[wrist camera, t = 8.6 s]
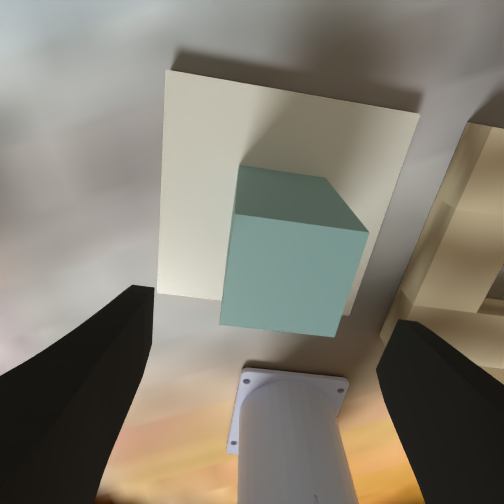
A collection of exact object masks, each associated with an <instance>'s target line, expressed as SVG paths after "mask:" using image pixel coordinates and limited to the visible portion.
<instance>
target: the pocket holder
mask: <svg viewBox="0 0 504 504" xmlns="http://www.w3.org/2000/svg"><path fill="white" fill-rule="evenodd" d="M503 264H504V128H498V127H493V126H487V125H481V124H476V123H470V122H467V124H466V126H465V129H464V131H463V134H462V136H461V139H460V141H459V143H458V146H457V148H456V151H455V153H454V155H453V158H452V160H451V163H450V165H449V168H448V170H447V172H446V175H445V177H444V180H443V182H442V184H441V187H440V189H439V192H438V194H437V196H436V199H435V201H434V204H433V206H432V209H431V211H430V213H429V216H428V218H427V221H426V223H425V225H424V228H423V230H422V233H421V235H420V238H419V240H418V242H417V245H416V247H415V250H414V252H413V254H412V257H411V259H410V262H409V264H408V267H407V269H406V271H405V274H404V276H403V279H402V281H401V283H400V286H399V288H398V291H397V293H396V296H395V298H394V300H393V303H392V305H391V308H390V310H389V312H388V315H387V317H386V320H385V322H384V325H383V327H382V329H381V332H380V334H379V336H380V338H381V340H382V342H383V344H384V345H385V347H386V346H387V343H388V341H389V339H390V337H391V334H392V332H393V330H394V328H395V325H396V323H397V321H398V319H402V320H410V321H417V322H419V323H421V324H422V325H424V326H425V327H427V328H428V329H430V330H431V331H433V332H434V333H435V334H437V335H438V336H440V337H441V338H442V339H444V340H445V341H446V342H448V343H449V344H450V345H452V346H453V347H454V348H455V349H457V350H458V351H459V352H461V353H462V354H463V355H465V356H466V357H467V358H469V359H470V360H471V361H472V362H474V363H475V364H476V365H478V366H484V367H493V368H502V369H504V300H499V299H491V298H485V297H486V295H487V293H488V291H489V290H490V288H491V286H492V284H493V282H494V281H495V279H496V277H497V275H498V273H499V272H500V270H501V268H502V266H503Z"/></svg>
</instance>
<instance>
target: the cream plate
mask: <svg viewBox="0 0 504 504" xmlns="http://www.w3.org/2000/svg"><path fill="white" fill-rule="evenodd" d="M419 117H420V114H418V113H413V112H407V111H401V110H396V109H390V108H384V107H378V106H373V105H367V104H361V103H356V102H350V101H344V100H338V99H333V98H327V97H321V96H316V95H310V94H304V93H298V92H293V91H287V90H281V89H276V88H270V87H264V86H258V85H253V84H247V83H241V82H235V81H230V80H224V79H218V78H213V77H207V76H201V75H195V74H190V73H184V72H178V71H173V70H166V75H165V101H164V127H163V153H162V179H161V205H160V231H159V257H158V283H157V293H162V294H171V295H179V296H187V297H196V298H204V299H212V300H221V301H222V296H223V286H224V277H225V268H226V258H227V249H228V241H229V233H230V226H231V219H232V211H233V204H234V197H235V189H236V182H237V174H238V167H239V165H243V166H250V167H257V168H263V169H270V170H276V171H283V172H290V173H296V174H303V175H310V176H316V177H323V178H326V179H327V180H328V181H329V183H330V184H331V185H332V186H333V188H334V189H335V190H336V191H337V193H338V194H339V195H340V196H341V198H342V199H343V200H344V201H345V203H346V204H347V205H348V206H349V208H350V209H351V210H352V211H353V212H354V214H355V215H356V216H357V217H358V219H359V220H360V221H361V222H362V224H363V225H364V226H365V227H366V229H367V230H368V231H369V232H370V233H369V236H368V239H367V242H366V245H365V248H364V251H363V254H362V257H361V260H360V263H359V266H358V269H357V272H356V275H355V278H354V281H353V284H352V287H351V290H350V293H349V296H348V299H347V302H346V305H345V308H344V311H343V314H342V315H346V316H349V315H350V313H351V310H352V307H353V304H354V301H355V298H356V296H357V293H358V290H359V287H360V284H361V281H362V279H363V276H364V273H365V270H366V267H367V264H368V262H369V259H370V256H371V253H372V250H373V247H374V245H375V242H376V239H377V236H378V233H379V230H380V228H381V225H382V222H383V219H384V216H385V213H386V211H387V208H388V205H389V202H390V199H391V196H392V193H393V191H394V188H395V185H396V182H397V179H398V176H399V174H400V171H401V168H402V165H403V162H404V159H405V157H406V154H407V151H408V148H409V145H410V142H411V140H412V137H413V134H414V131H415V128H416V125H417V123H418V120H419Z"/></svg>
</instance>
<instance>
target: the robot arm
mask: <svg viewBox="0 0 504 504" xmlns="http://www.w3.org/2000/svg"><path fill="white" fill-rule="evenodd" d="M153 309H154V288H153V287H146V286H138V285H131V286H130V287H129V288H127V289H126V290H125V291H123V292H122V293H121V294H120V295H118V296H117V297H116V298H115V299H113V300H112V301H111V302H110V303H108V304H107V305H106V306H105V307H103V308H102V309H101V310H100V311H98V312H97V313H96V314H94V315H93V316H92V317H90V318H89V319H88V320H86V321H85V322H84V323H82V324H81V325H80V326H78V327H77V328H75V329H74V330H73V331H71V332H70V333H68V334H67V335H65V336H64V337H62V338H61V339H60V340H58V341H57V342H55V343H54V344H52V345H51V346H49V347H48V348H46V349H45V350H43V351H42V352H40V353H38V354H37V355H35V356H34V357H32V358H30V359H29V360H27V361H26V362H24V363H22V364H20V365H19V366H17V367H15V368H13V369H12V370H10V371H8V372H6V373H4V374H3V375H1V376H0V504H94V501H95V497H96V494H97V491H98V488H99V485H100V482H101V479H102V475H103V473H104V470H105V467H106V465H107V462H108V459H109V457H110V454H111V452H112V449H113V447H114V444H115V442H116V440H117V437H118V435H119V432H120V430H121V428H122V425H123V423H124V420H125V418H126V416H127V413H128V411H129V408H130V406H131V404H132V401H133V399H134V396H135V394H136V391H137V389H138V387H139V384H140V382H141V379H142V377H143V373H144V370H145V367H146V363H147V360H148V356H149V352H150V349H151V345H152V331H153ZM376 372H377V376H378V380H379V384H380V388H381V391H382V395H383V398H384V402H385V404H386V407H387V409H388V412H389V414H390V417H391V419H392V422H393V424H394V427H395V429H396V432H397V434H398V436H399V439H400V441H401V443H402V446H403V448H404V451H405V453H406V455H407V458H408V460H409V463H410V465H411V467H412V470H413V472H414V475H415V477H416V479H417V482H418V484H419V487H420V490H421V492H422V495H423V498H424V500H425V503H426V504H504V385H503V384H502V383H501V382H499V381H498V380H496V379H495V378H494V377H492V376H491V375H490V374H488V373H487V372H486V371H484V370H483V369H482V368H480V367H479V366H478V365H476V364H475V363H474V362H472V361H471V360H470V359H469V358H467V357H466V356H465V355H463V354H462V353H461V352H459V351H458V350H457V349H455V348H454V347H453V346H452V345H450V344H449V343H448V342H446V341H445V340H444V339H442V338H441V337H440V336H438V335H437V334H435V333H434V332H433V331H431V330H430V329H428V328H427V327H425V326H424V325H422V324H421V323H419V322H417V321H410V320H402V319H398V321H397V323H396V325H395V328H394V330H393V332H392V334H391V337H390V339H389V341H388V343H387V346H386V348H385V350H384V352H383V355H382V357H381V359H380V361H379V364H378V366H377V368H376ZM245 379H248V380H245ZM348 387H349V382H348V380H347V379H346V378H344V377H335V376H325V375H315V374H306V373H296V372H286V371H277V370H267V369H258V368H244V369H242V371H241V374H240V379H239V384H238V389H237V394H236V400H235V405H234V410H233V415H232V420H231V425H230V430H229V436H228V441H227V446H226V451H227V453H229V454H235V455H238V493H237V504H359V503H358V499H357V495H356V491H355V488H354V484H353V480H352V476H351V473H350V469H349V465H348V461H347V458H346V454H345V450H344V446H343V443H342V439H341V435H340V431H339V427H338V424H337V420H336V418H337V415H338V413H339V410H340V407H341V405H342V402H343V400H344V397H345V395H346V392H347V390H348ZM340 388H341V389H340Z"/></svg>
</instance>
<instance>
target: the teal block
mask: <svg viewBox="0 0 504 504" xmlns="http://www.w3.org/2000/svg"><path fill="white" fill-rule="evenodd" d="M369 233H370V232H369V231H368V230H367V229H366V227H365V226H364V225H363V224H362V222H361V221H360V220H359V219H358V217H357V216H356V215H355V214H354V212H353V211H352V210H351V209H350V208H349V206H348V205H347V204H346V203H345V201H344V200H343V199H342V198H341V196H340V195H339V194H338V193H337V191H336V190H335V189H334V188H333V186H332V185H331V184H330V183H329V181H328V180H327V179H326V178H323V177H316V176H310V175H303V174H296V173H290V172H283V171H276V170H270V169H263V168H257V167H250V166H243V165H239V167H238V174H237V182H236V189H235V197H234V204H233V211H232V219H231V226H230V233H229V241H228V249H227V258H226V268H225V277H224V286H223V296H222V305H221V314H220V323H219V325H227V326H236V327H245V328H254V329H263V330H272V331H281V332H290V333H299V334H308V335H317V336H326V337H335V334H336V331H337V328H338V325H339V322H340V319H341V316H342V314H343V311H344V308H345V305H346V302H347V299H348V296H349V293H350V290H351V287H352V284H353V281H354V278H355V275H356V272H357V269H358V266H359V263H360V260H361V257H362V254H363V251H364V248H365V245H366V242H367V239H368V236H369Z"/></svg>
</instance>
